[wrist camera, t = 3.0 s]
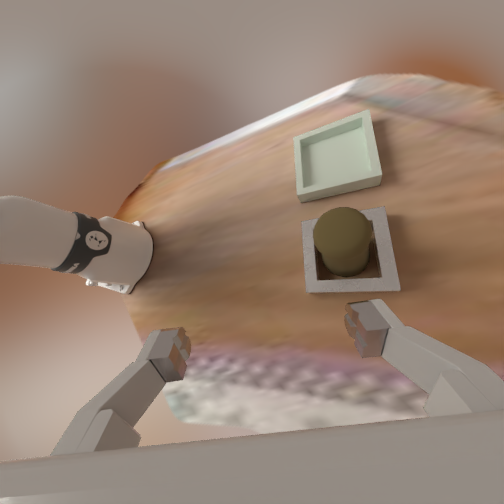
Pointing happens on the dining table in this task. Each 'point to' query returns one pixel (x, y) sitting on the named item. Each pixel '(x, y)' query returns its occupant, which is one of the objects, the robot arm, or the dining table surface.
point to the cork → (343, 240)
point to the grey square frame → (384, 283)
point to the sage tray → (337, 158)
